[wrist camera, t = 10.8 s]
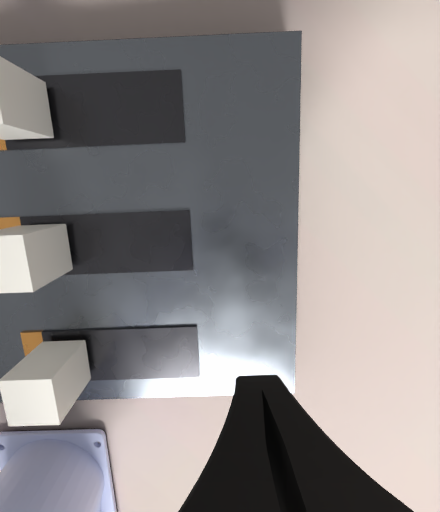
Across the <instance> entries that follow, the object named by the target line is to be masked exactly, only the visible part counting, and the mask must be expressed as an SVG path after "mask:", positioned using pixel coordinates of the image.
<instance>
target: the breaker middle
mask: <svg viewBox="0 0 440 512" xmlns="http://www.w3.org/2000/svg"><path fill="white" fill-rule="evenodd" d="M72 269H73V266H72V260H71V253H70V247H69V240H68V234H67V228H66V224H44V225H19V226H14V227H9V228H5V229H0V293H24V292H34V291H36V290H38V289H40V288H41V287H43V286H45V285H47V284H48V283H50V282H52V281H53V280H55V279H57V278H59V277H60V276H62V275H64V274H66V273H67V272H69V271H71V270H72Z"/></svg>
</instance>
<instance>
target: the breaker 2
mask: <svg viewBox="0 0 440 512" xmlns="http://www.w3.org/2000/svg"><path fill="white" fill-rule="evenodd" d="M90 379H91V374H90V368H89V361H88V355H87V348H86V342H85V340H76V341H46V342H41V343H40V344H39V345H38V346H37V347H36V348H35V349H34V350H32V351H31V352H30V353H29V354H28V355H27V356H26V357H24V358H23V359H22V360H21V361H20V362H19V363H18V364H17V365H15V366H14V367H13V368H12V369H11V370H10V371H9V372H8V373H6V374H5V375H4V376H3V377H2V378H1V379H0V392H1V396H2V400H3V405H4V409H5V413H6V418H7V422H8V426H40V425H60V424H61V423H62V421H63V420H64V418H65V417H66V415H67V414H68V412H69V411H70V409H71V408H72V406H73V405H74V403H75V402H76V400H77V399H78V397H79V396H80V394H81V393H82V391H83V390H84V388H85V387H86V385H87V384H88V382H89V381H90Z"/></svg>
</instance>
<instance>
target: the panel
mask: <svg viewBox="0 0 440 512" xmlns="http://www.w3.org/2000/svg"><path fill="white" fill-rule="evenodd" d="M301 36H302V31H285V32H264V33H243V34H221V35H200V36H179V37H158V38H136V39H115V40H94V41H72V42H51V43H30V44H9V45H0V56H1V57H2V58H4V59H6V60H8V61H9V62H11V63H13V64H14V65H16V66H18V67H20V68H21V69H23V70H25V71H27V72H28V73H30V74H32V75H34V76H35V77H37V78H39V79H41V80H42V81H44V82H46V89H47V95H48V102H49V108H50V115H51V121H52V128H53V134H54V138H39V139H16V140H2V139H0V229H5V228H9V227H14V226H19V225H44V224H66V228H67V234H68V240H69V247H70V253H71V260H72V266H73V269H72V270H71V271H69V272H67V273H66V274H64V275H62V276H60V277H59V278H57V279H55V280H53V281H52V282H50V283H48V284H47V285H45V286H43V287H41V288H40V289H38V290H36V291H34V292H24V293H0V379H1V378H2V377H3V376H4V375H5V374H6V373H8V372H9V371H10V370H11V369H12V368H13V367H14V366H15V365H17V364H18V363H19V362H20V361H21V360H22V359H23V358H24V357H26V356H27V355H28V354H29V353H30V352H31V351H32V350H34V349H35V348H36V347H37V346H38V345H39V344H40V343H41V342H46V341H76V340H85V342H86V348H87V355H88V361H89V368H90V374H91V379H90V381H89V382H88V384H87V385H86V387H85V388H84V390H83V391H82V393H81V394H80V396H79V397H78V399H77V400H96V399H128V398H160V397H192V396H223V395H234V390H235V379H236V378H237V377H238V376H248V375H278V376H279V377H280V378H281V380H282V381H283V383H284V384H285V386H286V387H287V388H288V390H289V391H290V392H291V393H295V354H296V301H297V248H298V195H299V142H300V89H301ZM0 402H3V400H2V396H1V392H0Z"/></svg>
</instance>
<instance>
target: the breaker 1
mask: <svg viewBox="0 0 440 512" xmlns="http://www.w3.org/2000/svg"><path fill="white" fill-rule="evenodd" d="M39 138H54V134H53V128H52V121H51V115H50V108H49V102H48V95H47V89H46V82H44V81H42V80H41V79H39V78H37V77H35V76H34V75H32V74H30V73H28V72H27V71H25V70H23V69H21V68H20V67H18V66H16V65H14V64H13V63H11V62H9V61H8V60H6V59H4V58H2V57H1V56H0V139H2V140H16V139H39Z"/></svg>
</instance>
